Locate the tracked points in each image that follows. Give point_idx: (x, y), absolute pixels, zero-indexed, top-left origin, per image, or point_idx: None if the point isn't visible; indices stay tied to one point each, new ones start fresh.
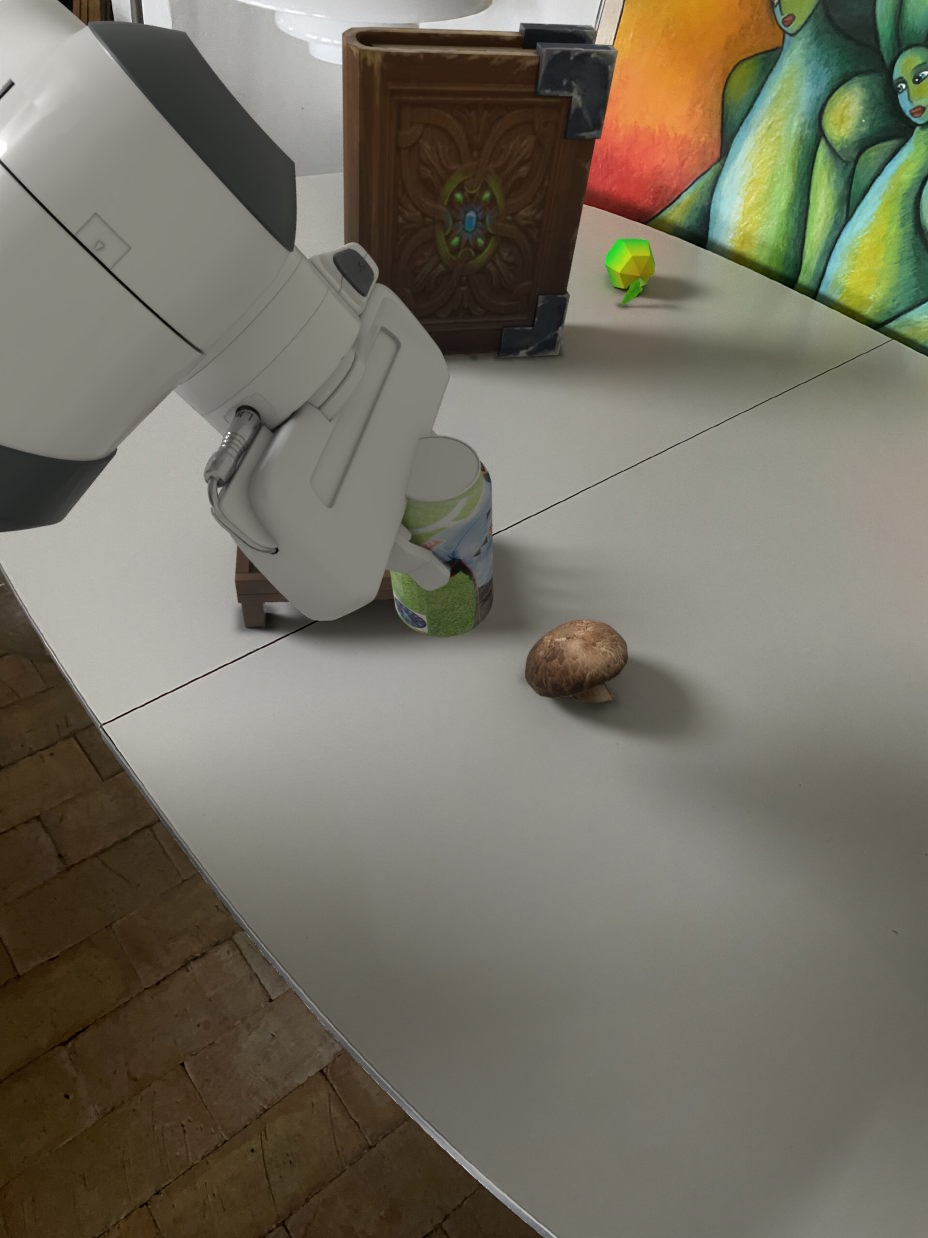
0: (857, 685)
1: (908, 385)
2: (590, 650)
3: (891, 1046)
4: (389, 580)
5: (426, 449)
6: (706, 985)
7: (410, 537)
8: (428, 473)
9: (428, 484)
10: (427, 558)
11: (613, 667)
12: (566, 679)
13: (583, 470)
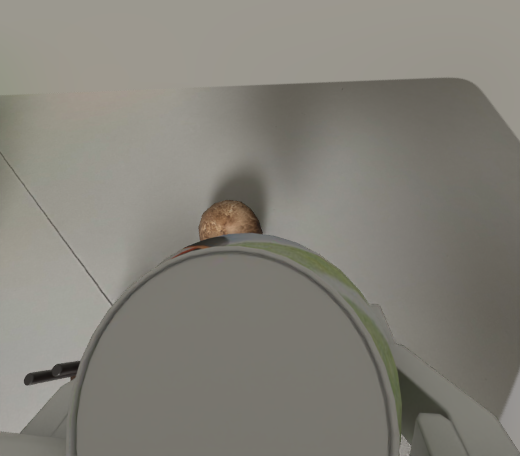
0: (210, 108)
1: (4, 99)
2: (234, 217)
3: (397, 87)
4: None
5: (134, 454)
6: (403, 153)
7: (429, 414)
8: (257, 423)
9: (313, 412)
10: (406, 351)
11: (241, 204)
12: (256, 232)
13: (56, 258)
